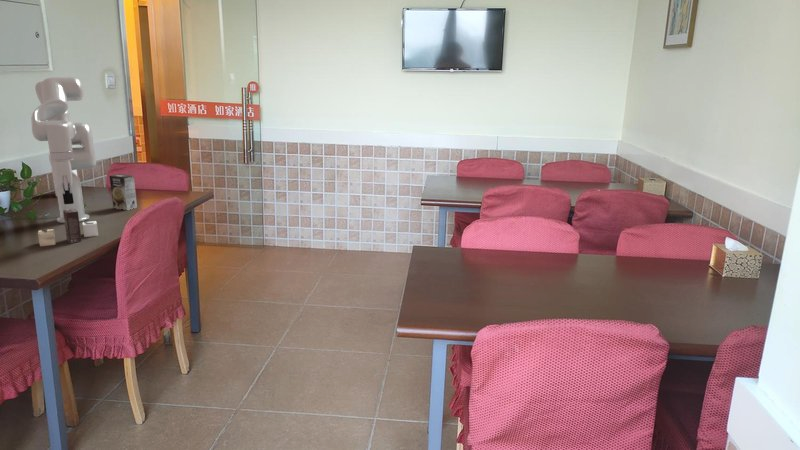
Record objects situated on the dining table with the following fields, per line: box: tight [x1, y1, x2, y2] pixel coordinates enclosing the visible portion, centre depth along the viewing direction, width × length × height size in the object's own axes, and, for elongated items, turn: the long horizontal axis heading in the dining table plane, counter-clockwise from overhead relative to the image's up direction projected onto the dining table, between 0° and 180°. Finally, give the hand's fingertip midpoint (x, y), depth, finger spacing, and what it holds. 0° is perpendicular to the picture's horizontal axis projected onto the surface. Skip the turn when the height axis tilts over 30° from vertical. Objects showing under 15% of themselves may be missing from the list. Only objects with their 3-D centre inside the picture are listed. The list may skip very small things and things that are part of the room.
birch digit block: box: [37, 228, 56, 247], centre depth 221 cm, size 5×5×5 cm
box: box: [63, 209, 82, 244], centre depth 224 cm, size 6×4×12 cm
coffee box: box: [109, 173, 138, 211], centre depth 275 cm, size 9×6×16 cm
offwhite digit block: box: [81, 220, 99, 238], centre depth 233 cm, size 5×5×5 cm
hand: (69, 203), depth 222 cm, fingers closed
